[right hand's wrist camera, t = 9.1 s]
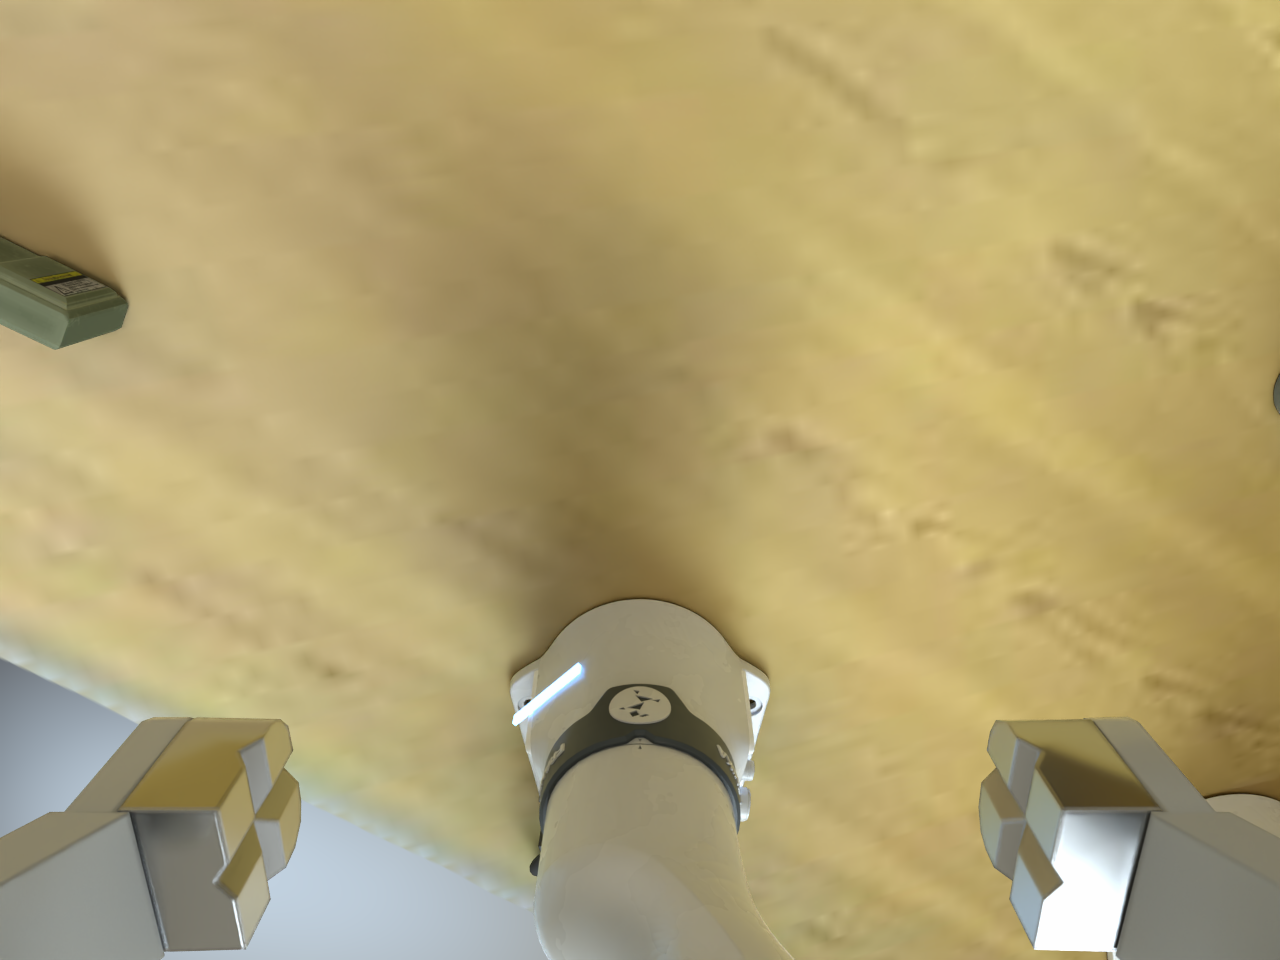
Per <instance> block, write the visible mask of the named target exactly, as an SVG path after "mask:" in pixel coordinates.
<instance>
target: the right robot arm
mask: <svg viewBox="0 0 1280 960" xmlns="http://www.w3.org/2000/svg"><path fill="white" fill-rule="evenodd" d="M510 696H511V699H512V703H513V706H514V709H515V713H516V714H515V715H514V718H513V724H514V725H515V726H516V725H517V724H519V727H520V730H521V733H522V737H523V740H524V744H525V747H526V752H527V754H528V757H529V761H530V764H531V768H532V771H533V774H534V778H535V781H536V785H537V788H538V792H539V802H540V808H539V811H540V812H539V819H540V826H541V832H540V839H539V849H540V852H541V853H540V855H538V856H537V857H536V858H535V859H534V860H533V861H532V863H531V865H530V872H531V873H532V875H534V876H537V883H536V890H535V898H534V920H535V927H536V931H537V935H538V938H539V941H540V944H541V946H542V948H543V950H544V952H545V954H546V956H547V957H548V959H549V960H794V958H793V957H792V956H791V955H790V954H789V953H788V952H787V951H786V949H785V948H784V947H783V946H782V945H781V944H780V943H779V941H778V940H777V939H776V938H775V936H774V935H773V934H772V933H771V931H770V930H769V928H768V927H767V925H766V924H765V922H764V921H763V919H762V918H761V916H760V914H759V912H758V910H757V909H756V907H755V905H754V902H753V900H752V897H751V894H750V890H749V886H748V883H747V879H746V875H745V871H744V867H743V863H742V858H741V853H740V848H739V843H738V837H737V834H738V831H739V826H740V821H746V820H747V819H748V816H749V811H750V801H751V798H750V790H749V789H747V787H743V785H744V781H752V779H753V776H754V761H753V760H751V757H752V754H753V752H754V747H755V744H756V740H757V737H758V734H759V730H760V727H761V723H762V720H763V716H764V713H765V710H766V706H767V703H768V699H769V696H770V682H769V679H768V677H767V676H766V675H765V674H764V673H763V672H762V671H761V670H759V669H758V668H756V667H754V666H753V665H751V664H749V663H748V662H746V661H744V660H742V659H740V658H739V657H738V656H737V655H736V654H735V653H734V651H733V650H732V649H731V647H730V646H729V645H728V643H727V642H726V641H725V639H724V638H723V636H722V635H721V634H720V633H719V632H718V631H717V630H716V629H715V628H714V627H713V626H712V625H711V624H710V623H709V622H707V621H706V620H705V619H703V618H702V617H700V616H699V615H697V614H695V613H694V612H692V611H690V610H688V609H685V608H683V607H680V606H678V605H675V604H671V603H668V602H663V601H657V600H649V599H631V600H623V601H617V602H612V603H609V604H605V605H602V606H600V607H597V608H595V609H592V610H590V611H588V612H586V613H585V614H583V615H581V616H580V617H578V618H577V619H575V620H574V621H573V622H571V623H570V624H569V625H568V626H567V627H566V628H565V629H564V630H563V631H562V632H561V633H560V634H559V635H558V637H557V638H556V639H555V641H554V642H553V643H552V645H551V646H550V648H549V649H548V650H547V651H546V653H545V654H544V655H543V656H542V657H541V658H540V659H538V660H536V661H534V662H532V663H531V664H529V665H527V666H526V667H524V668H523V669H521V670H520V671H518V672H517V673H516V674H515V675H514V676H513V677H512V679H511V682H510ZM528 699H531V702H530V703H528V702H526V700H528ZM749 699H752V700H754V702H752V703H750V701H749ZM292 751H293V747H292V742H291V737H290V732H289V728H288V725H286V724H285V723H284V722H283V721H282V720H281V719H247V718H201V717H197V718H191V717H153V718H150V719H148V720H145V721H142V722H141V723H140V724H139V725H138V726H137V728H136V729H135V730H134V731H133V732H132V733H131V735H130V736H129V737H128V738H127V739H126V740H125V742H124V743H123V744H122V745H121V746H120V747H119V749H118V750H117V751H116V752H115V753H114V754H113V756H112V757H111V758H110V759H109V760H108V761H107V763H106V764H105V765H104V766H103V767H102V768H101V770H100V771H99V772H98V773H97V774H96V775H95V777H94V778H93V779H92V780H91V781H90V782H89V784H88V785H87V786H86V787H85V788H84V789H83V791H82V792H81V793H80V794H79V795H78V796H77V798H76V799H75V800H74V801H73V802H72V803H71V805H70V806H69V807H68V808H67V809H66V810H65V811H64V812H49V813H47V814H45V815H43V816H41V817H39V818H37V819H36V820H34V821H32V822H30V823H28V824H26V825H24V826H22V827H20V828H18V829H16V830H14V831H12V832H11V833H9V834H7V835H5V836H3V837H1V838H0V960H161V959H162V958H163V957H164V952H171V951H206V950H240V949H246V948H247V946H248V944H249V942H250V940H251V938H252V936H253V934H254V932H255V930H256V928H257V926H258V924H259V922H260V920H261V918H262V916H263V914H264V912H265V909H266V907H267V905H268V903H269V901H270V893H269V887H268V882H267V881H268V880H269V879H271V878H272V877H273V876H275V875H276V874H278V873H279V872H280V871H282V870H283V869H284V868H286V866H287V864H288V862H289V859H290V857H291V855H292V853H293V851H294V849H295V846H296V841H297V836H298V832H299V827H300V823H301V796H300V790H299V783H298V781H297V780H296V779H295V778H294V777H293V776H292V775H291V774H290V773H289V772H288V771H287V770H286V769H285V768H284V766H285V764H286V762H287V760H288V759H289V757H290V755H291V753H292ZM987 751H988V753H989V755H990V757H991V759H992V760H993V762H994V764H995V766H996V768H995V769H994V770H993V771H992V772H991V773H990V774H989V775H988V776H987V777H986V778H985V779H984V780H983V781H982V783H981V791H980V799H979V818H980V829H981V834H982V838H983V841H984V845H985V848H986V851H987V853H988V855H989V857H990V860H991V862H992V864H993V866H994V868H996V869H997V870H998V871H1000V872H1001V873H1002V874H1004V875H1005V876H1007V877H1008V878H1009V879H1011V880H1012V881H1013V882H1012V887H1011V893H1010V901H1011V903H1012V905H1013V907H1014V910H1015V912H1016V914H1017V916H1018V918H1019V920H1020V922H1021V924H1022V926H1023V928H1024V930H1025V932H1026V934H1027V936H1028V938H1029V940H1030V942H1031V944H1032V946H1033V948H1034V949H1038V950H1073V951H1108V952H1116V954H1115V956H1116V957H1117V958H1119V959H1120V960H1280V838H1279V837H1277V836H1275V835H1273V834H1271V833H1269V832H1267V831H1266V830H1264V829H1262V828H1260V827H1258V826H1256V825H1254V824H1252V823H1250V822H1248V821H1246V820H1244V819H1243V818H1241V817H1239V816H1237V815H1235V814H1233V813H1231V812H1215V810H1214V809H1213V808H1212V807H1211V806H1210V805H1209V803H1208V802H1207V801H1206V800H1205V799H1204V798H1203V796H1202V795H1201V794H1200V793H1199V792H1198V791H1197V789H1196V788H1195V787H1194V786H1193V785H1192V784H1191V782H1190V781H1189V780H1188V779H1187V778H1186V777H1185V775H1184V774H1183V773H1182V772H1181V771H1180V770H1179V768H1178V767H1177V766H1176V765H1175V764H1174V763H1173V761H1172V760H1171V759H1170V758H1169V757H1168V756H1167V754H1166V753H1165V752H1164V751H1163V750H1162V749H1161V747H1160V746H1159V745H1158V744H1157V743H1156V742H1155V741H1154V739H1153V738H1152V737H1151V736H1150V735H1149V734H1148V732H1147V731H1146V730H1145V729H1144V728H1143V727H1142V725H1141V724H1140V723H1139V722H1137V721H1136V720H1133V719H1131V718H1129V717H1102V718H1084V719H1063V720H996V721H995V723H994V725H993V727H992V729H991V731H990V735H989V741H988V747H987Z"/></svg>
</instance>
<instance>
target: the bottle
mask: <svg viewBox="0 0 1280 960" xmlns="http://www.w3.org/2000/svg"><path fill="white" fill-rule="evenodd" d="M1274 403H1275V406H1276V409H1277V411H1278V412H1279V414H1280V375H1279V377H1278V379H1277V381H1276V384H1275V388H1274Z"/></svg>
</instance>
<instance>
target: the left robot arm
mask: <svg viewBox="0 0 1280 960" xmlns="http://www.w3.org/2000/svg"><path fill="white" fill-rule="evenodd" d="M1205 800H1206V801H1207V802H1208V803H1209V805H1210V806H1211V807H1212V808H1213V809H1214V810H1215V812H1231V813H1233V814H1235V815H1237V816H1239V817H1241V818H1243V819H1244V820H1246V821H1248V822H1250V823H1252V824H1254V825H1256V826H1258V827H1260V828H1262V829H1264V830H1266V831H1267V832H1269V833H1271V834H1273V835H1275V836H1277V837H1279V838H1280V801H1277V800H1275V799H1272V798H1268V797H1264V796H1259V795H1251V794H1231V795H1223V796H1217V797H1212V798H1208V799H1205ZM1115 954H1116V952H1108V951H1107V956H1108V960H1120V959H1119V958H1117V957H1116V956H1115Z"/></svg>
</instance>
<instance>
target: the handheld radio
mask: <svg viewBox="0 0 1280 960" xmlns="http://www.w3.org/2000/svg"><path fill="white" fill-rule="evenodd" d="M127 308H128V303H127V302H126V301H125V300H124V299H123V298H122V297H121V296H119V295H117V293H116V292H115V291H114V290H113V289H111V288H110V287H108V286H106V285H103V284H101V283H99V282H97V281H95V280H93V279H91V278H89V277H87V276H85V275H83V274H81V273H79V272H77V271H75V270H73V269H71V268H69V267H67V266H65V265H63V264H61V263H59V262H57V261H55V260H53V259H51V258H49V257H47V256H38V255H36V254H34V253H32V252H30V251H28V250H26V249H24V248H22V247H20V246H18V245H16V244H14V243H12V242H10V241H8V240H6V239H4V238H2V237H0V324H1V325H3V326H5V327H8V328H10V329H12V330H14V331H16V332H18V333H20V334H22V335H24V336H27V337H29V338H31V339H33V340H35V341H37V342H39V343H41V344H43V345H46V346H48V347H50V348H52V349H55V350H56V349H59V348H63V347H66V346H69V345H72V344H75V343H78V342H81V341H84V340H88V339H91V338H94V337H97V336H100V335H103V334H106V333H109V332H113V331H115V330H117V329H119V328H121V327H122V324H123V321H124V317H125V314H126V311H127Z"/></svg>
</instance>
